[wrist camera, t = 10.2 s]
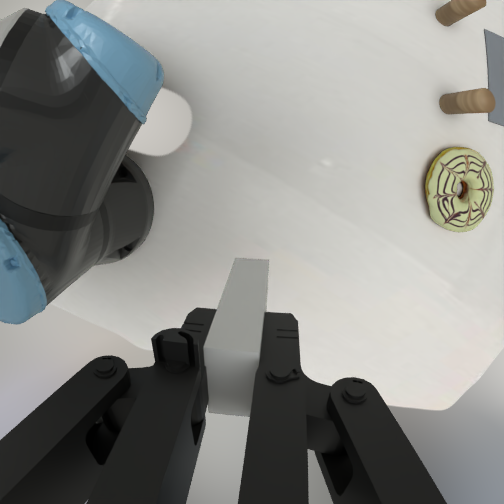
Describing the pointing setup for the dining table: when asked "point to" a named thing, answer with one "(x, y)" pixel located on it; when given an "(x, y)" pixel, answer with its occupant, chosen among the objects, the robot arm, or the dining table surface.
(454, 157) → the decorated donut
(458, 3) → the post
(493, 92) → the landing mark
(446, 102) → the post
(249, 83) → the dining table surface
